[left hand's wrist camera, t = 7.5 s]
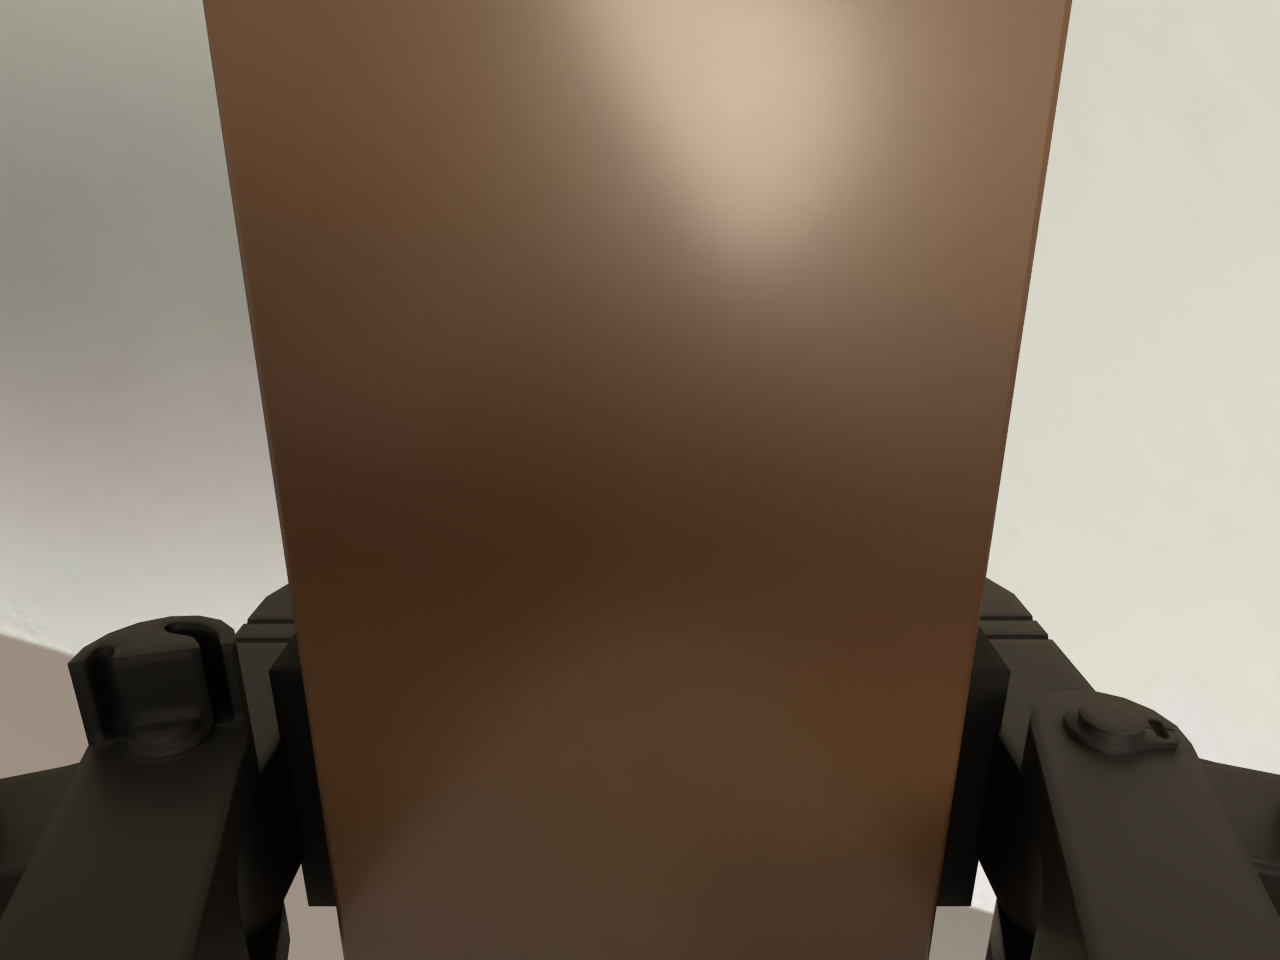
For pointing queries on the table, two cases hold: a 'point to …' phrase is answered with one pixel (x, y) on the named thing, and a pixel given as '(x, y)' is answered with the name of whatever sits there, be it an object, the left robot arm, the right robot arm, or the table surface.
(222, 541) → the table surface
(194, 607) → the table surface
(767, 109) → the post
